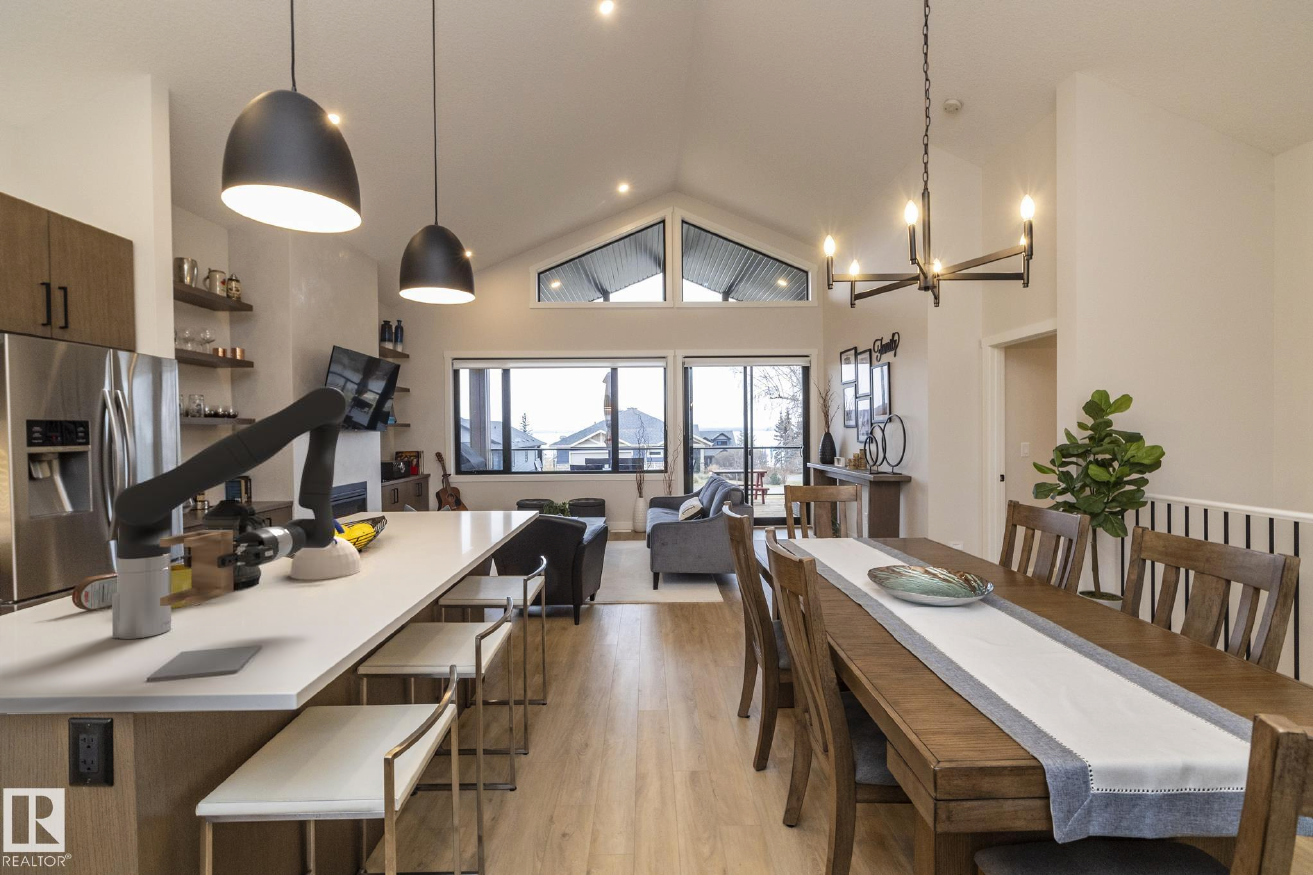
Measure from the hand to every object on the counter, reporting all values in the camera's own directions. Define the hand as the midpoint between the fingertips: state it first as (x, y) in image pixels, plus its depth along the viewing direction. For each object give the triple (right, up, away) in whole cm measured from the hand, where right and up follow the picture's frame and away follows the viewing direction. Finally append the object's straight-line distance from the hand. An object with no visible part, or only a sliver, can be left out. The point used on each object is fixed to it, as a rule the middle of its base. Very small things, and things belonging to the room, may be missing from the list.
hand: (202, 562), depth 117 cm
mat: (0, -20, +2) cm, 20 cm away
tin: (-54, -20, +42) cm, 71 cm away
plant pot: (-38, -20, +43) cm, 61 cm away
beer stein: (-37, -20, +63) cm, 76 cm away
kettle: (-20, -20, +81) cm, 86 cm away
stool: (0, -6, -1) cm, 7 cm away
